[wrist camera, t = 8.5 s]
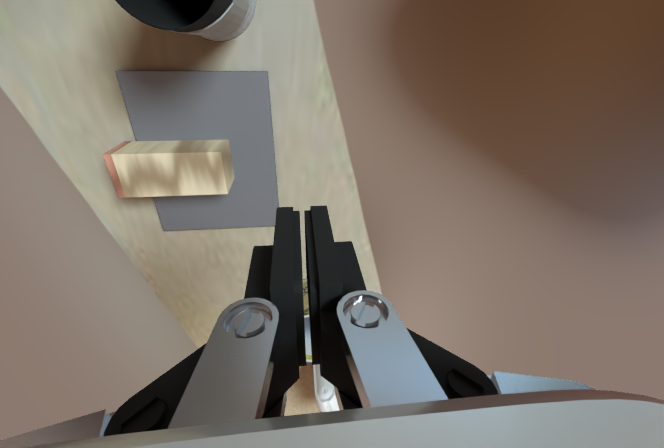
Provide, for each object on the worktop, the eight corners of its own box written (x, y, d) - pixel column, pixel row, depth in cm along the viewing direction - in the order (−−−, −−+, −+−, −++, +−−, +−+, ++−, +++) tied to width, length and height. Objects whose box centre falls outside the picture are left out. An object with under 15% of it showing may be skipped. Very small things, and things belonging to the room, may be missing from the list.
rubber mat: (118, 70, 34) (115, 71, 34) (267, 71, 36) (267, 71, 35) (165, 228, 44) (163, 230, 44) (280, 223, 46) (280, 225, 45)
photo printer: (309, 344, 60) (312, 410, 49) (330, 338, 59) (339, 403, 49) (323, 375, 65) (330, 440, 54) (344, 369, 65) (354, 434, 54)
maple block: (228, 139, 38) (124, 141, 37) (220, 152, 34) (102, 154, 33) (234, 177, 41) (137, 180, 40) (227, 193, 37) (118, 197, 35)
